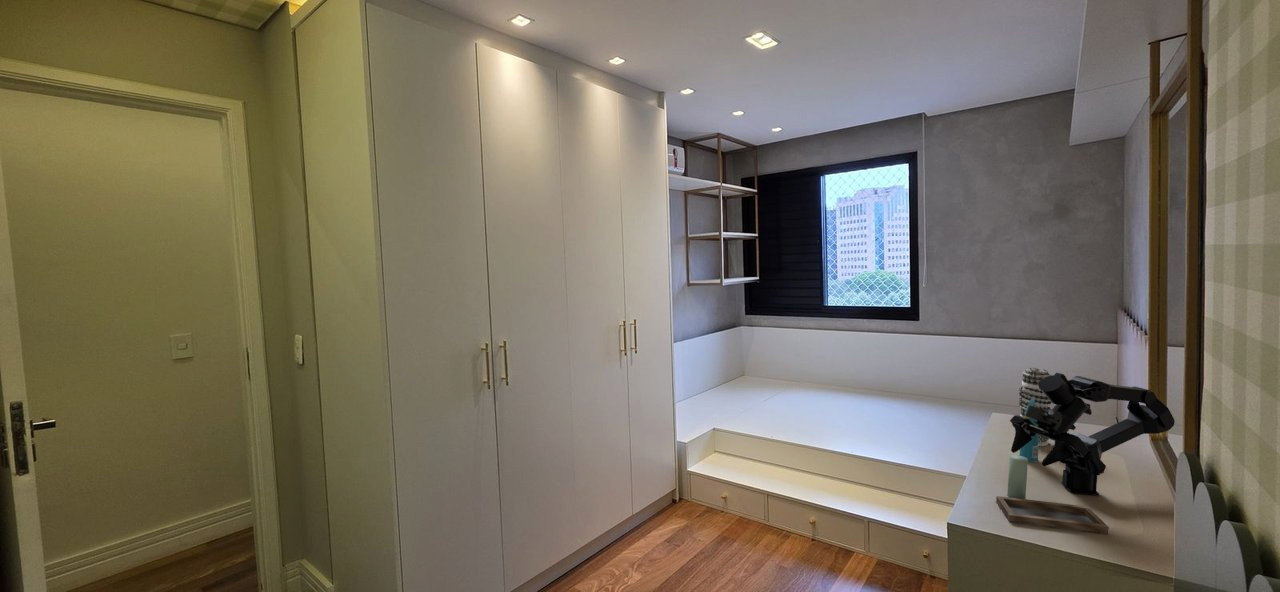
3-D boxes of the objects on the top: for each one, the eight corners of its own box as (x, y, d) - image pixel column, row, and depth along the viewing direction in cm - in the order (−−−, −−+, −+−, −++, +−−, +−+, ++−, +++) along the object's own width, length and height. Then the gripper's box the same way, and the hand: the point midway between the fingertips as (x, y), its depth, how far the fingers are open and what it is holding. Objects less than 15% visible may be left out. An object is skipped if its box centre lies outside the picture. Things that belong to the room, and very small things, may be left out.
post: (1022, 495, 147) (1024, 456, 146) (1027, 501, 143) (1030, 461, 142) (1005, 493, 148) (1007, 454, 147) (1010, 499, 144) (1012, 460, 143)
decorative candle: (1056, 446, 181) (1061, 372, 178) (1028, 446, 181) (1032, 373, 178) (1036, 436, 190) (1041, 366, 187) (1010, 436, 190) (1014, 366, 187)
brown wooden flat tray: (1087, 513, 137) (1087, 506, 137) (1108, 534, 127) (1108, 527, 127) (996, 502, 143) (996, 495, 143) (1009, 522, 133) (1009, 515, 133)
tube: (1020, 453, 175) (1023, 395, 173) (1039, 457, 172) (1042, 398, 170) (1017, 461, 169) (1021, 401, 167) (1037, 465, 166) (1040, 404, 164)
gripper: (1017, 386, 154) (981, 427, 153) (1082, 406, 135) (1042, 452, 134) (1039, 411, 156) (1004, 452, 155) (1105, 434, 138) (1066, 480, 137)
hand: (1027, 458), depth 145 cm, fingers open, 9 cm apart
